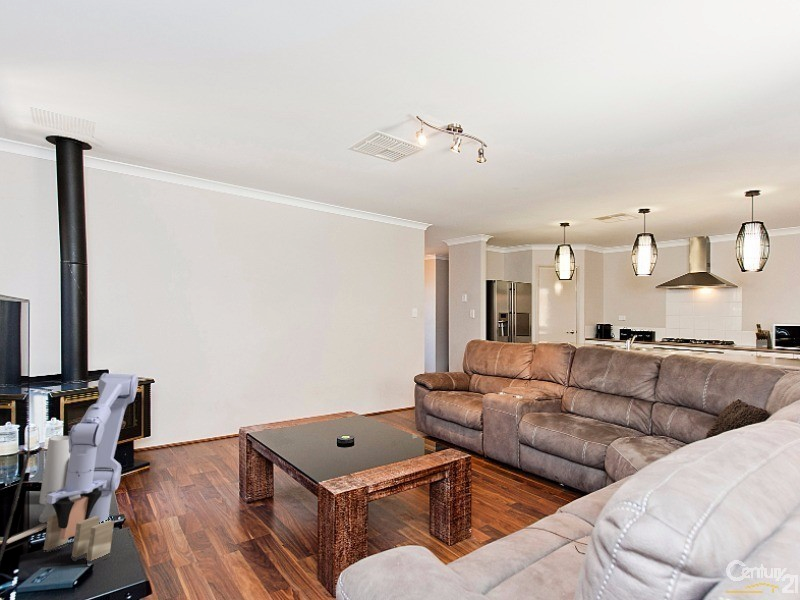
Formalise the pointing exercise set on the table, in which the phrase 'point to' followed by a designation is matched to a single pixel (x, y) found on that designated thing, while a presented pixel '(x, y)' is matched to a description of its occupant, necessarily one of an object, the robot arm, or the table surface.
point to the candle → (56, 467)
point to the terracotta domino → (75, 517)
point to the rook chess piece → (47, 511)
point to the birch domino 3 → (100, 540)
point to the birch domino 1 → (53, 533)
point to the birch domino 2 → (83, 536)
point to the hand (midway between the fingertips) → (73, 523)
